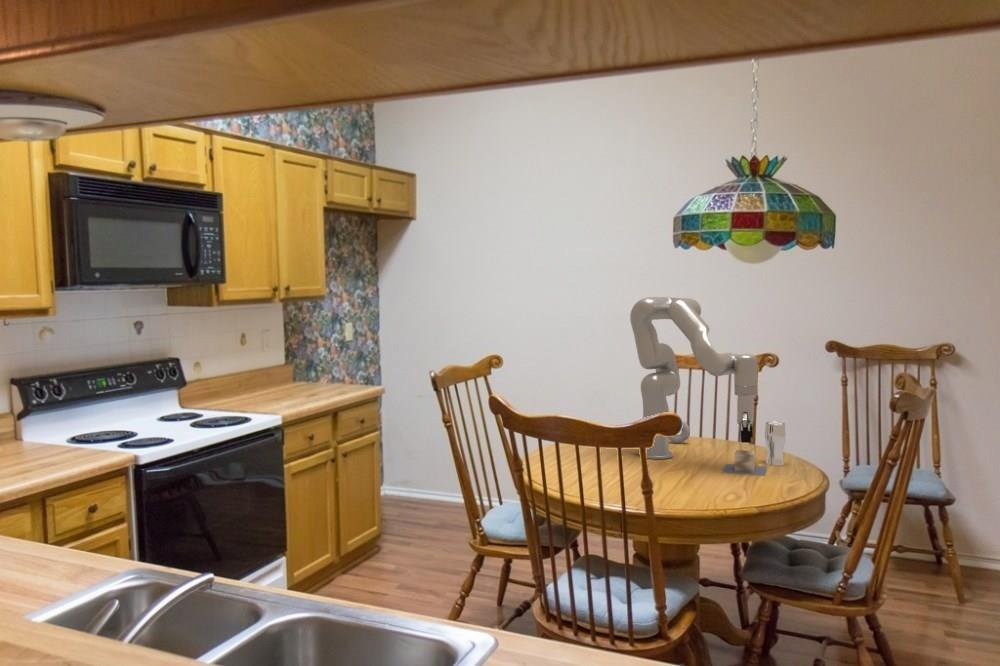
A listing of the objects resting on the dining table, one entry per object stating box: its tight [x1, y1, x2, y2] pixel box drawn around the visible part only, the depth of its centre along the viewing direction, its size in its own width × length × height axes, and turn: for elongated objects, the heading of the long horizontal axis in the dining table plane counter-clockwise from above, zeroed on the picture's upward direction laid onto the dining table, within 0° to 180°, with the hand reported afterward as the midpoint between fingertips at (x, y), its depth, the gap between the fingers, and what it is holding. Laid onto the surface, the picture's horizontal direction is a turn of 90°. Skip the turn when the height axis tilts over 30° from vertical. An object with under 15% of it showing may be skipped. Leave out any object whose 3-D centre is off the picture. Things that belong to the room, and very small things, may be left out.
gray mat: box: [721, 463, 768, 477], centre depth 259 cm, size 14×14×1 cm
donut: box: [669, 420, 691, 444], centre depth 305 cm, size 10×4×10 cm, turn 68°
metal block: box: [734, 449, 756, 472], centre depth 258 cm, size 6×6×6 cm
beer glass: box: [764, 421, 787, 466], centre depth 267 cm, size 7×7×15 cm
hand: (746, 439), depth 258 cm, fingers open, 9 cm apart
